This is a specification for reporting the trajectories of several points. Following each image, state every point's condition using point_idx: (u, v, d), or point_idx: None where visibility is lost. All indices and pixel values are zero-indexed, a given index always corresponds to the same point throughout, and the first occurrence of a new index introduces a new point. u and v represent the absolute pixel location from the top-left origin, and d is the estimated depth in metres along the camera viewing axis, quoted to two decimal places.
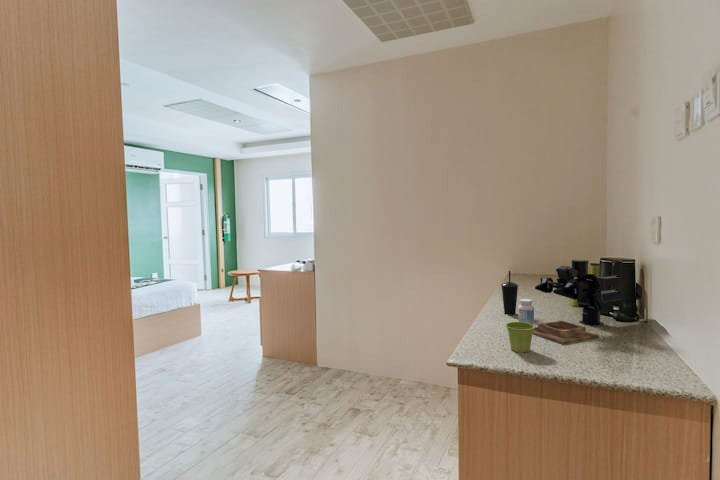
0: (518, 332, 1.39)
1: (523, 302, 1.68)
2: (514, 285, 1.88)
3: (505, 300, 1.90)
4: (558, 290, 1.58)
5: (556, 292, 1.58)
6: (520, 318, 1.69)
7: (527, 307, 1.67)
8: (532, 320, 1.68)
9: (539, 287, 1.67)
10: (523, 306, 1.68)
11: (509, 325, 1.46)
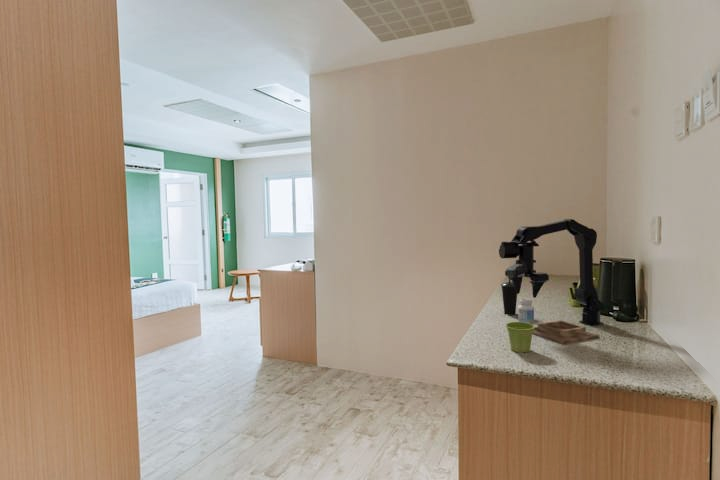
0: (518, 332, 1.39)
1: (523, 302, 1.68)
2: None
3: (505, 300, 1.90)
4: (535, 293, 1.64)
5: (536, 295, 1.65)
6: (520, 318, 1.69)
7: (527, 307, 1.67)
8: (532, 320, 1.68)
9: (518, 289, 1.74)
10: (523, 306, 1.68)
11: (509, 325, 1.46)
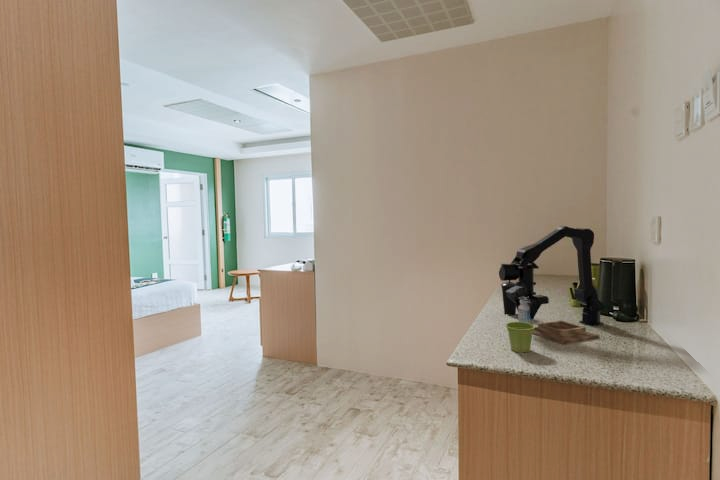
0: (518, 332, 1.39)
1: (523, 302, 1.68)
2: (514, 285, 1.88)
3: (505, 300, 1.90)
4: (532, 315, 1.66)
5: (533, 316, 1.67)
6: (520, 318, 1.69)
7: (527, 307, 1.67)
8: (532, 320, 1.68)
9: None
10: (523, 306, 1.68)
11: (509, 325, 1.46)
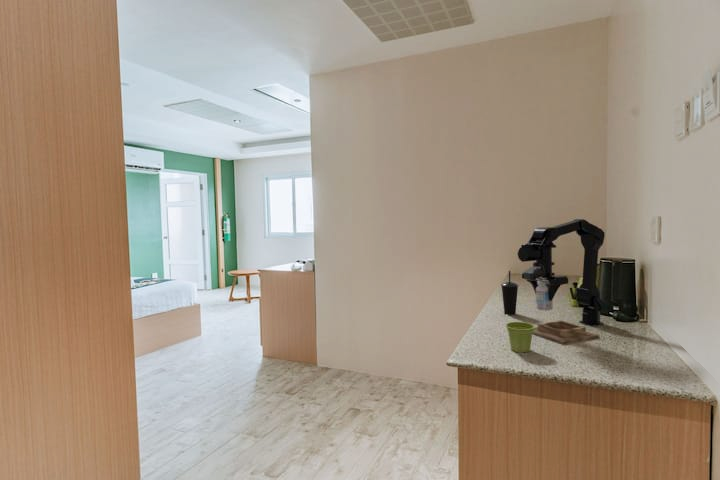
0: (518, 331, 1.39)
1: (541, 283, 1.62)
2: (514, 285, 1.88)
3: (505, 300, 1.90)
4: (551, 296, 1.60)
5: (552, 298, 1.60)
6: (538, 300, 1.63)
7: (545, 288, 1.61)
8: (550, 302, 1.61)
9: None
10: (541, 287, 1.62)
11: (509, 325, 1.46)
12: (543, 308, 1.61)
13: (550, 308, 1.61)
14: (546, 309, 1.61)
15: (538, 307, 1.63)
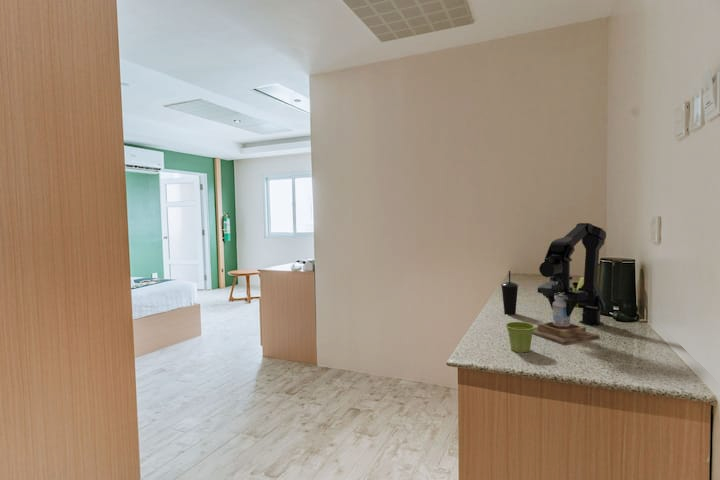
0: (518, 332, 1.39)
1: (558, 298, 1.56)
2: (514, 285, 1.88)
3: (505, 300, 1.90)
4: (569, 312, 1.55)
5: (570, 313, 1.55)
6: (555, 315, 1.57)
7: (563, 303, 1.56)
8: (568, 317, 1.56)
9: None
10: (558, 302, 1.56)
11: (509, 325, 1.46)
12: (561, 324, 1.56)
13: (568, 324, 1.56)
14: (564, 325, 1.56)
15: (555, 323, 1.57)
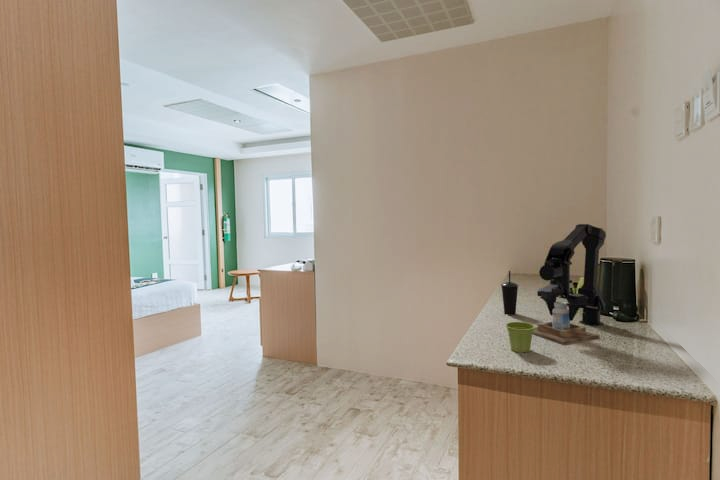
0: (518, 332, 1.39)
1: (558, 305, 1.57)
2: (514, 285, 1.88)
3: (505, 300, 1.90)
4: (571, 316, 1.53)
5: (572, 318, 1.54)
6: (555, 322, 1.58)
7: (563, 310, 1.56)
8: (568, 324, 1.56)
9: None
10: (558, 309, 1.57)
11: (509, 325, 1.46)
12: None
13: None
14: None
15: None
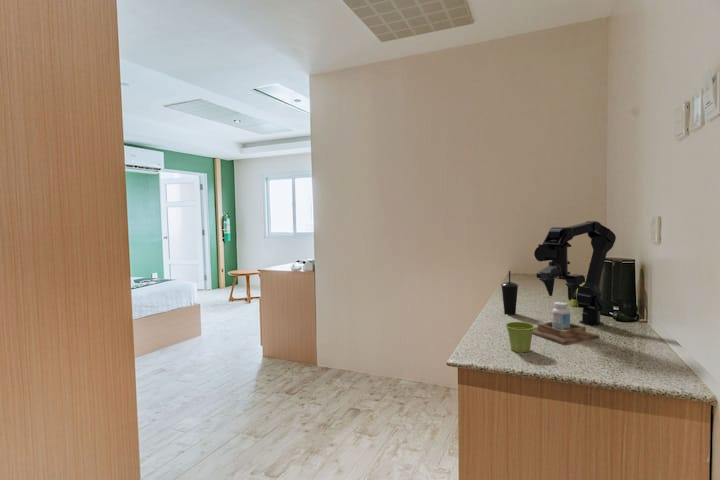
0: (518, 332, 1.39)
1: (558, 305, 1.57)
2: (514, 285, 1.88)
3: (505, 300, 1.90)
4: (570, 296, 1.60)
5: (571, 297, 1.60)
6: (555, 322, 1.58)
7: (563, 311, 1.56)
8: (568, 325, 1.56)
9: (550, 291, 1.69)
10: (558, 310, 1.57)
11: (509, 325, 1.46)
12: None
13: None
14: None
15: None
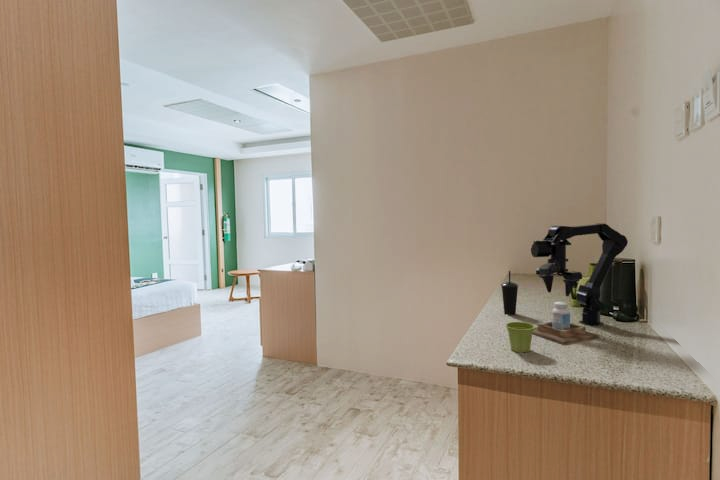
0: (518, 332, 1.39)
1: (558, 305, 1.57)
2: (514, 285, 1.88)
3: (505, 300, 1.90)
4: (567, 292, 1.65)
5: (568, 293, 1.66)
6: (555, 322, 1.58)
7: (563, 311, 1.56)
8: (568, 325, 1.56)
9: (549, 287, 1.75)
10: (558, 310, 1.57)
11: (509, 325, 1.46)
12: None
13: None
14: None
15: None
